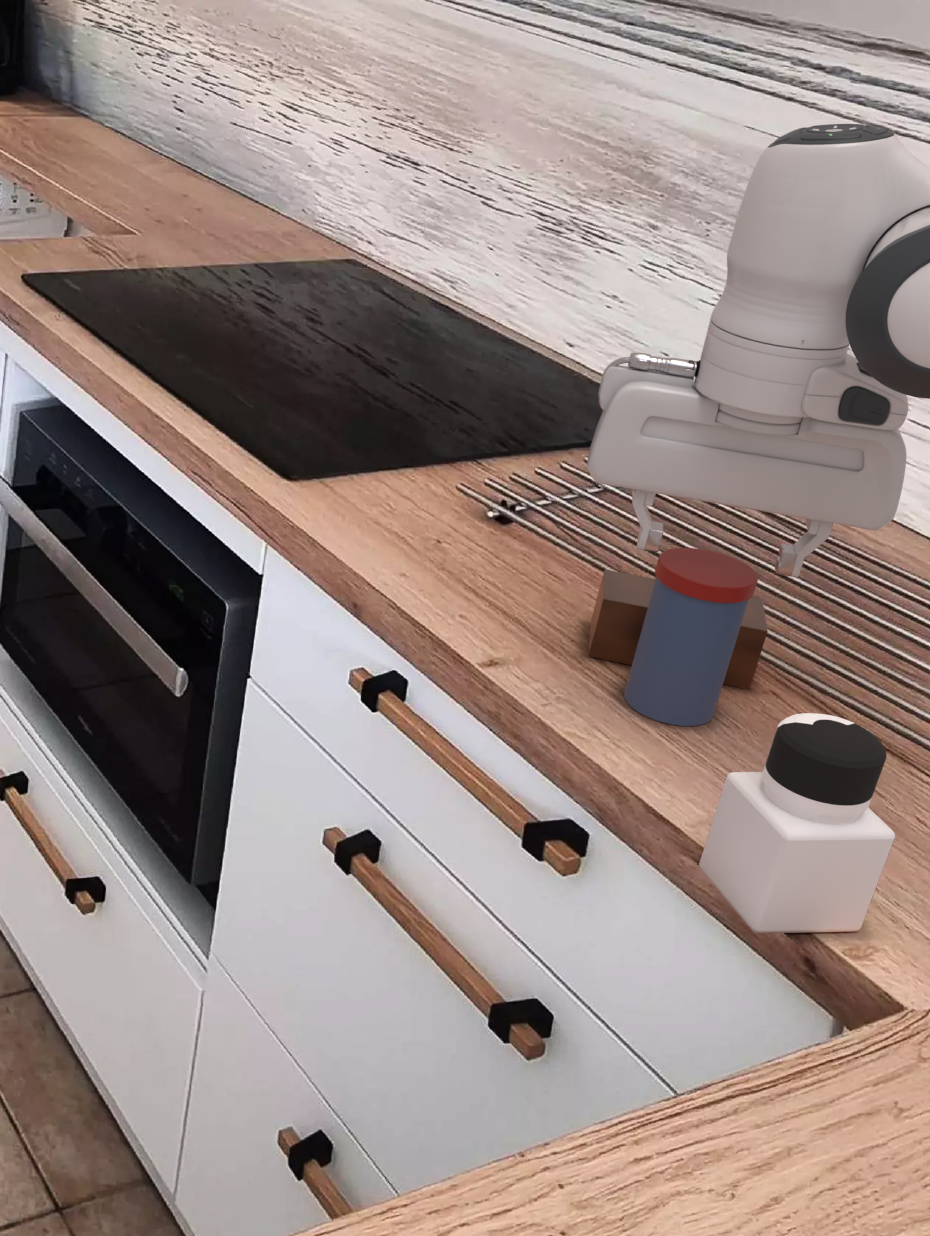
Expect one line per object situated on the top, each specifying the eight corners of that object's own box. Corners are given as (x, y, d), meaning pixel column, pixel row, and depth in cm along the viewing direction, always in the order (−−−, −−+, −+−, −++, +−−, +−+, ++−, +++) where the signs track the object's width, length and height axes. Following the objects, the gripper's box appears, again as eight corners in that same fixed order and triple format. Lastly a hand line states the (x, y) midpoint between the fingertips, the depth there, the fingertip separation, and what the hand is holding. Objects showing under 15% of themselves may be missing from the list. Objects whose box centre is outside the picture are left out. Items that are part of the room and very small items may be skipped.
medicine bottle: (862, 933, 104) (926, 761, 98) (753, 936, 102) (812, 762, 97) (798, 865, 110) (856, 700, 104) (695, 867, 109) (748, 699, 103)
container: (730, 597, 132) (771, 533, 121) (704, 751, 129) (744, 700, 117) (639, 580, 134) (670, 514, 122) (610, 731, 130) (640, 679, 119)
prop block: (745, 656, 137) (763, 599, 134) (749, 689, 132) (768, 631, 129) (589, 625, 139) (604, 568, 137) (588, 656, 134) (603, 598, 132)
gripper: (607, 360, 116) (564, 550, 122) (935, 411, 111) (872, 605, 118) (609, 336, 121) (567, 518, 128) (921, 383, 117) (861, 570, 123)
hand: (715, 560), depth 123 cm, fingers open, 8 cm apart
